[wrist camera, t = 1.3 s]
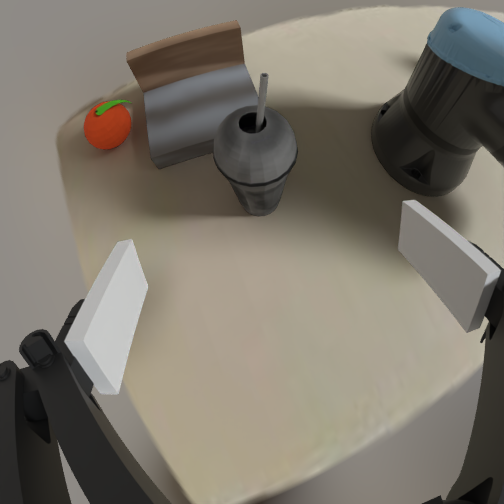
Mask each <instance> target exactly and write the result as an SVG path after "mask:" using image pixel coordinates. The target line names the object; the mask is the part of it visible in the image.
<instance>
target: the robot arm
mask: <svg viewBox="0 0 504 504" xmlns="http://www.w3.org/2000/svg"><path fill="white" fill-rule="evenodd" d="M427 39H428V40H427V44H426V46H425V48H424V51H423V53H422V55H421V57H420V59H419V61H418V63H417V65H416V67H415V69H414V72H413V74H412V75H411V77H410V79H409V82H408V84H407V86H406V87H405V89H404V90H403V91H401V92H400V93H399V94H397V95H396V96H395V97H393V98H392V99H390V100H389V101H388V102H386V103H385V104H384V105H383V106H382V107H381V109H380V110H379V112H378V114H377V116H376V118H375V120H374V122H373V126H372V133H371V135H372V143H373V147H374V150H375V153H376V155H377V157H378V159H379V161H380V162H381V164H382V165H383V167H384V168H385V169H386V171H387V172H388V173H389V174H390V175H391V176H392V177H393V178H394V179H395V180H396V181H397V182H399V183H400V184H401V185H403V186H404V187H406V188H408V189H409V190H411V191H413V192H416V193H418V194H422V195H426V196H442V195H445V194H448V193H450V192H451V191H452V190H454V189H455V188H456V187H457V186H459V185H460V184H461V183H462V182H463V180H464V179H465V178H466V176H467V174H468V171H469V169H470V166H471V164H472V161H473V159H474V156H475V154H476V151H477V150H478V149H479V148H480V147H482V146H484V147H485V148H486V149H487V150H488V151H489V152H490V153H491V154H492V155H493V156H494V157H495V158H496V159H497V161H498V162H499V163H500V164H501V165H502V166H503V167H504V23H503V22H501V21H500V20H498V19H496V18H494V17H492V16H490V15H488V14H485V13H483V12H480V11H477V10H474V9H470V8H463V7H457V8H451V9H449V10H447V11H445V12H444V13H443V14H442V15H441V17H440V19H439V20H438V22H437V24H436V26H435V28H434V29H433V31H431V32H430V33H429V35H428V38H427ZM398 250H399V251H400V252H401V254H402V255H403V256H404V257H405V258H406V259H407V260H408V261H409V262H410V264H411V265H412V266H413V267H414V268H415V269H416V271H417V272H418V273H419V274H420V275H421V276H422V278H423V279H424V280H425V281H426V282H427V283H428V285H429V286H430V287H431V288H432V289H433V291H434V292H435V293H436V294H437V296H438V297H439V298H440V299H441V300H442V302H443V303H444V304H445V305H446V307H447V308H448V309H449V311H450V312H451V313H452V314H453V316H454V317H455V318H456V320H457V321H458V322H459V323H460V325H461V326H462V327H463V329H464V330H465V331H466V333H468V332H470V331H473V330H475V329H478V328H480V326H481V323H482V321H483V319H484V316H485V317H486V318H487V319H488V320H489V323H488V325H487V327H486V329H485V332H484V334H483V336H482V338H481V341H480V343H482V342H483V340H484V339H485V338H486V341H485V354H484V364H483V372H482V380H481V387H480V393H479V399H478V406H477V411H476V416H475V421H474V425H473V430H472V434H471V438H470V442H469V446H468V450H467V454H466V457H465V460H464V464H463V467H462V470H461V473H460V476H459V477H458V479H457V481H456V482H455V484H454V485H453V487H452V488H451V490H450V492H449V494H448V496H447V498H446V500H442V499H441V496H438V497H436V498H434V499H431V500H429V501H427V502H425V503H422V504H504V269H503V268H502V267H501V266H500V265H499V264H498V263H497V262H495V261H494V260H493V259H492V258H490V257H489V255H488V254H486V253H484V251H483V250H482V249H481V248H479V247H478V246H477V245H475V244H474V243H472V242H470V241H468V240H466V239H465V238H464V237H463V236H461V235H460V234H459V233H458V232H456V231H455V230H454V229H453V228H451V227H450V226H449V225H448V224H446V223H445V222H444V221H443V220H441V219H440V218H439V217H437V216H436V215H435V214H433V213H432V212H431V211H430V210H428V209H427V208H425V207H424V206H423V205H421V204H420V203H419V202H417V201H416V200H407V201H402V214H401V225H400V234H399V243H398ZM147 290H148V285H147V282H146V279H145V276H144V273H143V270H142V267H141V265H140V262H139V259H138V256H137V253H136V250H135V247H134V243H133V240H132V239H129V240H124V241H118V242H117V244H116V245H115V247H114V249H113V250H112V252H111V254H110V255H109V257H108V259H107V261H106V262H105V264H104V266H103V268H102V269H101V271H100V273H99V275H98V276H97V278H96V280H95V282H94V284H93V285H92V287H91V289H90V291H89V293H88V295H87V297H86V299H82V300H80V301H79V302H78V303H77V304H76V305H75V306H74V307H73V308H72V309H71V311H70V313H69V315H68V318H67V319H66V321H65V323H64V326H63V327H62V329H61V331H60V333H59V335H58V337H57V339H56V341H54V340H53V338H52V337H51V335H50V334H49V333H48V331H47V330H43V329H42V330H36V331H34V332H32V333H30V334H29V335H28V336H26V337H25V338H24V340H23V341H22V342H21V345H20V347H19V352H20V354H21V355H22V356H23V358H24V359H25V361H26V362H27V363H28V365H29V367H26V368H23V369H19V368H18V367H17V365H16V364H15V363H14V362H13V361H10V360H9V361H5V362H3V363H1V364H0V504H71V500H70V497H69V493H68V489H67V485H66V481H65V477H64V472H63V468H62V463H61V458H60V453H59V447H58V442H59V445H60V447H61V449H62V451H63V453H64V456H65V458H66V460H67V462H68V464H69V466H70V468H71V470H72V472H73V474H74V476H75V478H76V479H77V481H78V483H79V485H80V487H81V489H82V490H83V492H84V494H85V496H86V497H87V499H88V501H89V502H90V504H171V503H170V501H169V500H168V499H167V498H166V497H165V496H164V494H163V493H162V492H161V491H160V490H159V489H158V488H157V486H156V485H155V484H154V483H153V481H152V480H151V479H150V478H149V476H148V475H147V474H146V473H145V471H144V470H143V469H142V468H141V466H140V465H139V464H138V462H137V461H136V460H135V458H134V457H133V455H132V454H131V453H130V451H129V450H128V449H127V447H126V446H125V444H124V443H123V442H122V440H121V439H120V437H119V436H118V434H117V433H116V431H115V430H114V428H113V427H112V425H111V423H110V422H109V420H108V419H107V417H106V416H105V414H104V413H103V411H102V409H101V407H100V406H99V404H98V403H97V401H96V399H95V397H94V396H93V395H92V394H91V391H92V388H93V384H94V386H95V387H96V388H97V390H98V391H99V392H100V394H118V393H119V390H120V386H121V381H122V377H123V373H124V370H125V366H126V362H127V358H128V354H129V351H130V347H131V343H132V340H133V336H134V333H135V329H136V326H137V322H138V319H139V315H140V312H141V309H142V306H143V302H144V299H145V296H146V293H147ZM57 440H58V441H57Z"/></svg>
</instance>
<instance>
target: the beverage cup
mask: <svg viewBox="0 0 504 504" xmlns="http://www.w3.org/2000/svg"><path fill="white" fill-rule="evenodd" d="M267 84H268V74H267V73H262V74H261V76H260V87H259V98H258V105H253V106H245V107H242V108H239V109H236V110H235V111H233V112H232V113H230V114H229V115H227V116H226V118H225V119H224V120H223V121H222V122H221V124H220V125H219V127H218V129H217V132H216V135H215V138H214V147H213V150H214V161H215V163H216V166H217V168H218V170H219V171H220V172H221V173H222V174H223V175H224V176H225V177H226V178H227V179H228V180H229V182H230V184H231V186H232V188H233V189H234V191H235V193H236V195H237V197H238V199H239V201H240V203H241V204H242V206H243V207H244V209H245V210H246V211H247V212H248V213H250V214H252V215H255V216H265V215H268V214H270V213H271V212H273V211H274V210H275V209H276V207H277V206H278V203H279V201H280V198H281V195H282V191H283V188H284V185H285V181H286V178H287V175H288V173H289V172H290V170H291V169H292V167H293V166H294V164H295V163H296V158H297V154H298V149H297V143H296V139H295V135H294V131H293V130H292V128H291V126H290V125H289V123H288V121H287V120H286V119H285V118H284V117H283V116H282V115H280V114H279V113H278V112H277V111H275V110H273V109H270V108H268V107H265V102H266V93H267Z"/></svg>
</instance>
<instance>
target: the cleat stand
mask: <svg viewBox="0 0 504 504" xmlns="http://www.w3.org/2000/svg"><path fill="white" fill-rule="evenodd" d="M127 63H128V65H129V66H130V69H131V70H132V72H133V74H134V76H135V78H136V80H137V82H138V83H139V85H140V87H141V89H142V91H143V93H144V103H145V113H146V122H147V131H148V139H149V147H150V155H151V159H152V161H153V162H154V163H155V165H156V166H157V168H158V169H161V168H164V167H167V166H170V165H173V164H176V163H179V162H182V161H186V160H189V159H192V158H195V157H199V156H202V155H205V154H209V153H212V152H214V150H213V147H214V138H215V135H216V132H217V129H218V127H219V125H220V124H221V122H222V121H223V120H224V119H225V118H226V116H227V115H229V114H230V113H232V112H233V111H235V110H236V109H239V108H242V107H245V106H253V105H258V98H259V97H258V95H257V92H256V90H255V87H254V85H253V82H252V80H251V78H250V75H249V73H248V70H247V68H246V66H245V62H244V54H243V45H242V37H241V28H240V26H239V24H238V22H237V20H235V21H231V22H226V23H221V24H217V25H213V26H209V27H204V28H201V29H197V30H193V31H189V32H186V33H183V34H179V35H176V36H172V37H169V38H166V39H163V40H160V41H157V42H154V43H151V44H148V45H146V46H143V47H140V48H138V49H135V50H132V51H130V52H127Z"/></svg>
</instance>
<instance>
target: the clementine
mask: <svg viewBox="0 0 504 504" xmlns="http://www.w3.org/2000/svg"><path fill="white" fill-rule="evenodd" d="M122 102H129V101H126V100H114V101H107V102H102V103H100V104H98V105H96V106H95V107H94V108H92V109H91V110H90V112H89V113H88V115H87V116H86V119H85V122H84V132H85V136H86V138H87V140H88V141H89V143H90V144H92V145H93V146H95V147H96V148H100V149H104V150H105V149H111V148H114V147H117V146H119V145H120V144H121V143H123V142H124V140H125V139H126V138H127V136H128V134H129V132H130V129H131V117H130V115H129V112H128V111H127V109H126V108H125V107H124V106H123V105H121V104H119V103H122ZM129 103H131V102H129Z"/></svg>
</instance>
